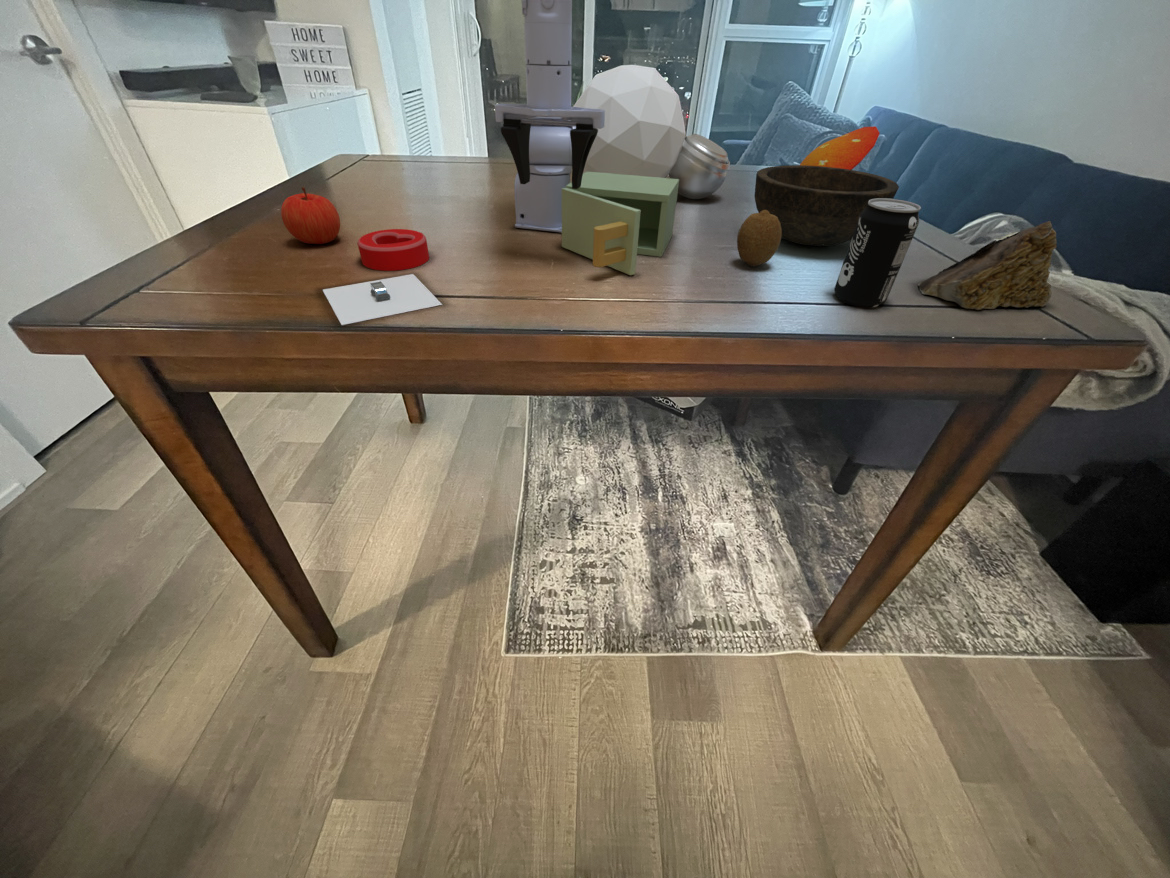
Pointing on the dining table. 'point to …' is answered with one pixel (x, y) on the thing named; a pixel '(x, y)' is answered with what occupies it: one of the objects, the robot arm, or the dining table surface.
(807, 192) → the bowl
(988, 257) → the mineral specimen
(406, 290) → the white paper sheet
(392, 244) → the decorative ornament
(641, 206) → the cupboard
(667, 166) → the lamp
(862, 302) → the beverage can
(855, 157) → the decorative mushroom
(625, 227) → the cupboard door
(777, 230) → the fruit
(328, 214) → the apple
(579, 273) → the dining table surface
